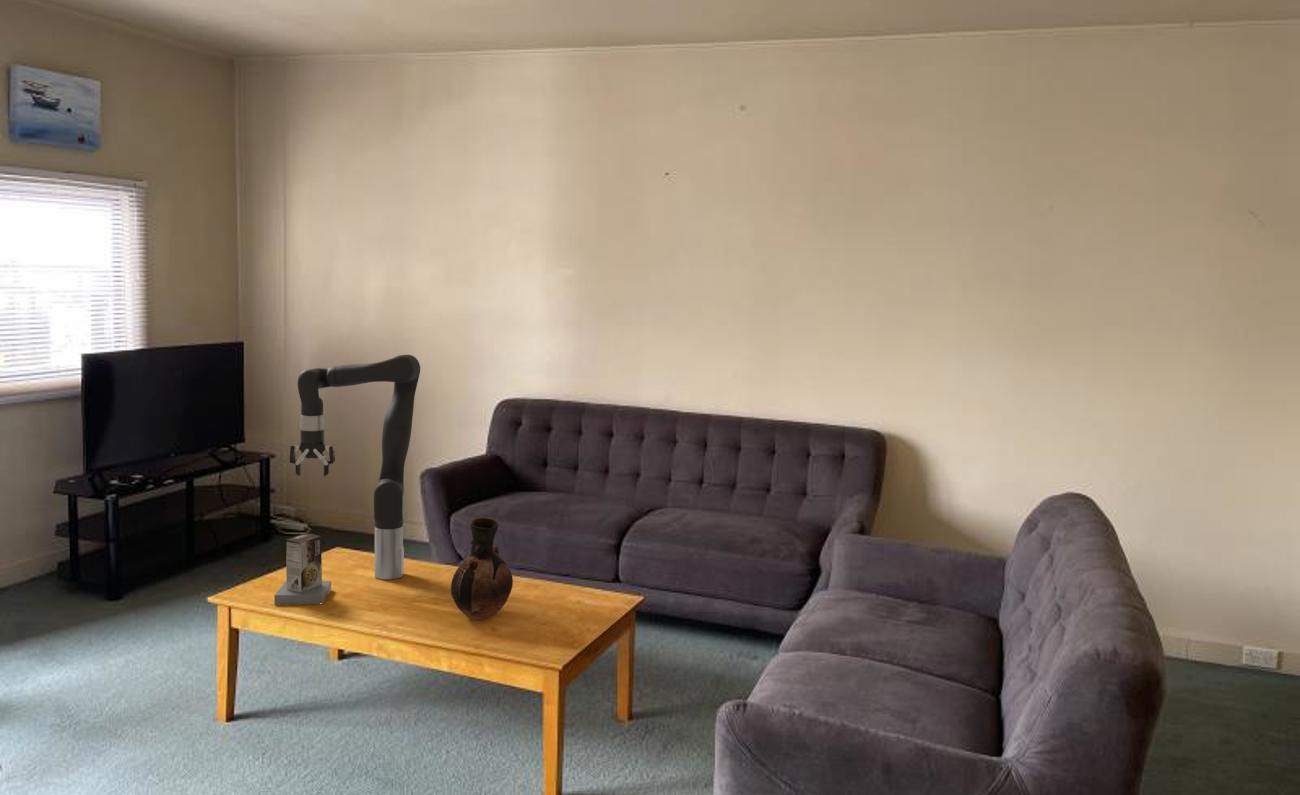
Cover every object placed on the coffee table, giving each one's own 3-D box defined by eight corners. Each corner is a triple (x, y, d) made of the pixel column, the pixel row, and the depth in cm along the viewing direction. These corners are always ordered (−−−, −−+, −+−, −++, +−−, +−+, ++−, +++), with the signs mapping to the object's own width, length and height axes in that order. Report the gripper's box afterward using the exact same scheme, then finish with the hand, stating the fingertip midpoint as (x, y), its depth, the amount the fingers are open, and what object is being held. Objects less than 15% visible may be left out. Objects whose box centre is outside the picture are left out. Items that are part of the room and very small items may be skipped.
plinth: (331, 590, 311) (331, 581, 311) (322, 604, 298) (321, 594, 297) (285, 590, 310) (285, 581, 309) (274, 604, 296) (274, 595, 296)
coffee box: (307, 582, 309) (306, 532, 307) (322, 585, 307) (322, 535, 305) (285, 589, 301) (285, 539, 299) (301, 593, 298) (300, 541, 297)
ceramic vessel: (474, 601, 305) (476, 508, 302) (524, 610, 299) (526, 515, 295) (437, 622, 285) (438, 523, 282) (489, 632, 279) (490, 530, 276)
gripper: (287, 429, 321) (287, 477, 323) (332, 430, 322) (332, 478, 324) (292, 426, 328) (293, 473, 330) (336, 426, 330) (336, 473, 332)
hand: (312, 475), depth 327 cm, fingers open, 8 cm apart
